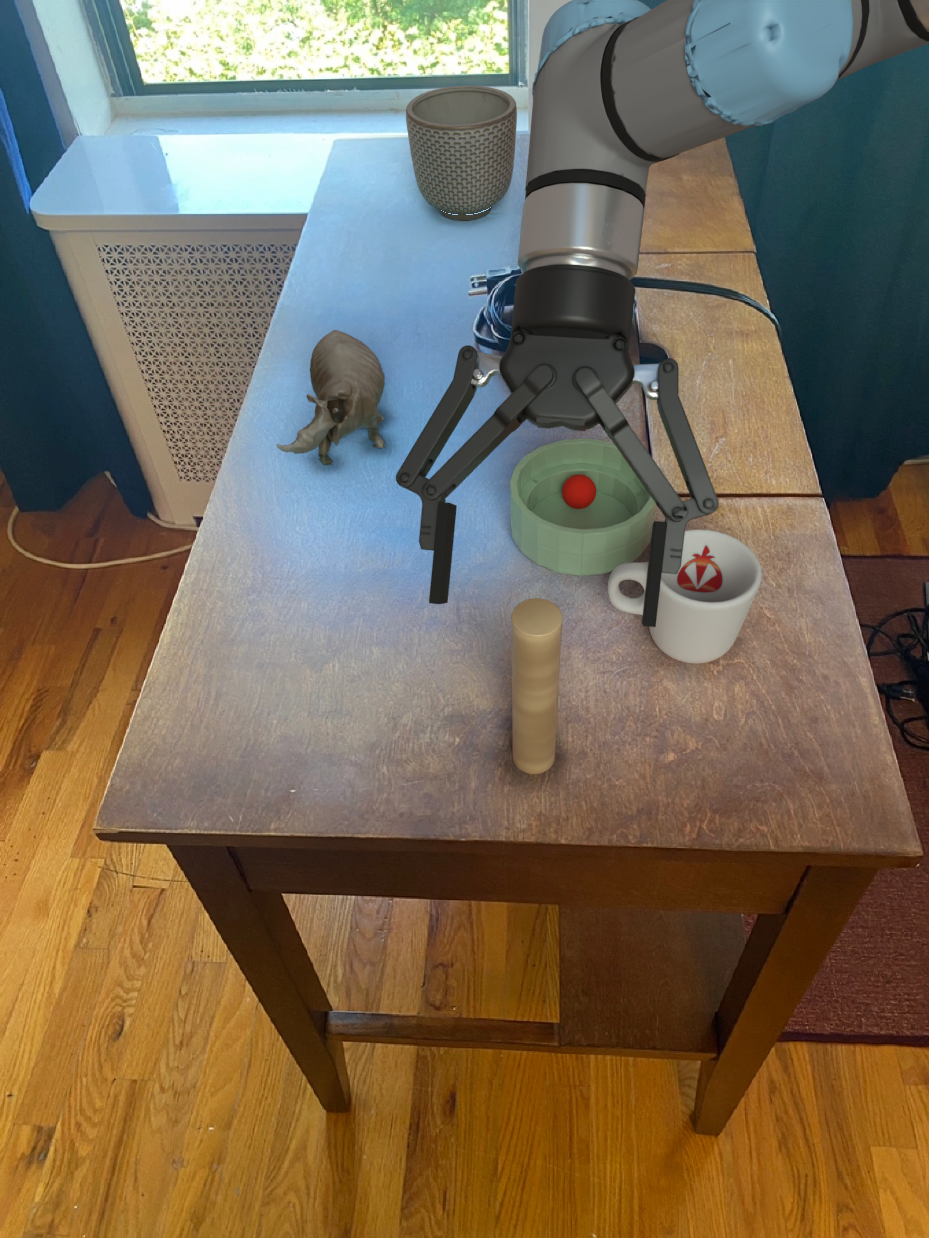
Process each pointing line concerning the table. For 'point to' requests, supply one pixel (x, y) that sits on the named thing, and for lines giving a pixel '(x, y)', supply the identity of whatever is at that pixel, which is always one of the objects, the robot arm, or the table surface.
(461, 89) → the planter
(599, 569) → the bowl
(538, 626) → the tan wooden cylinder
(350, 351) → the grey animal figure
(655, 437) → the table surface
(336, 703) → the table surface
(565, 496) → the cherry tomato
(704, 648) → the cup
